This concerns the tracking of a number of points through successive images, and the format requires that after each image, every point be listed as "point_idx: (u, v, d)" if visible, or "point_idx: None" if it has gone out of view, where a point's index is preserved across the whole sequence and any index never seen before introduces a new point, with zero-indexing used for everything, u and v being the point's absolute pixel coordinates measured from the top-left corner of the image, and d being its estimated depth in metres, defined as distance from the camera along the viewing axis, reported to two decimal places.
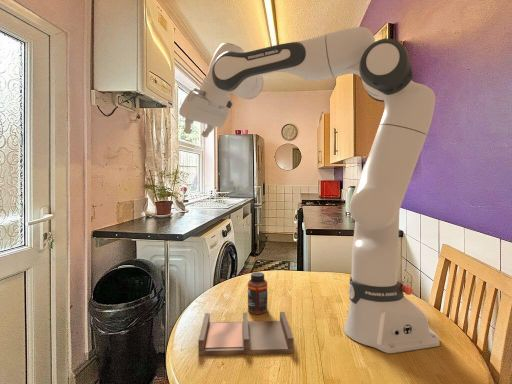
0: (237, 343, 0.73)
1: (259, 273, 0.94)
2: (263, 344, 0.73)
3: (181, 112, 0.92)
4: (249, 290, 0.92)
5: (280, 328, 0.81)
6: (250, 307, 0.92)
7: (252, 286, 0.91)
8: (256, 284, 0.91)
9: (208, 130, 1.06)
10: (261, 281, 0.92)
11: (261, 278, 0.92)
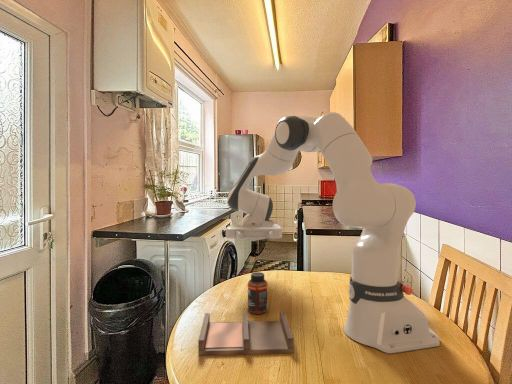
0: (237, 343, 0.73)
1: (259, 273, 0.94)
2: (263, 344, 0.73)
3: (226, 234, 1.10)
4: (249, 290, 0.92)
5: (280, 328, 0.81)
6: (250, 307, 0.92)
7: (252, 286, 0.91)
8: (256, 284, 0.91)
9: None
10: (261, 281, 0.92)
11: (261, 278, 0.92)
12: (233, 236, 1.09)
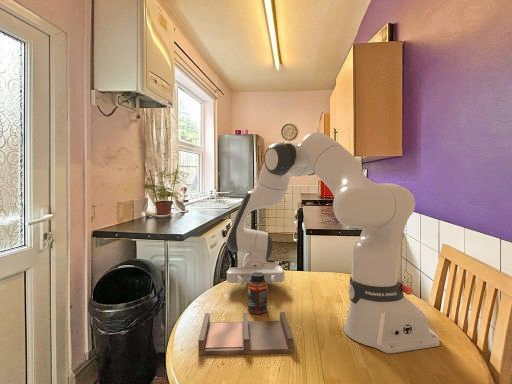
0: (237, 343, 0.73)
1: (259, 273, 0.94)
2: (263, 344, 0.73)
3: None
4: (249, 290, 0.92)
5: (280, 328, 0.81)
6: (250, 307, 0.92)
7: (252, 286, 0.91)
8: (256, 284, 0.91)
9: None
10: (261, 281, 0.92)
11: (261, 278, 0.92)
12: (234, 281, 1.06)
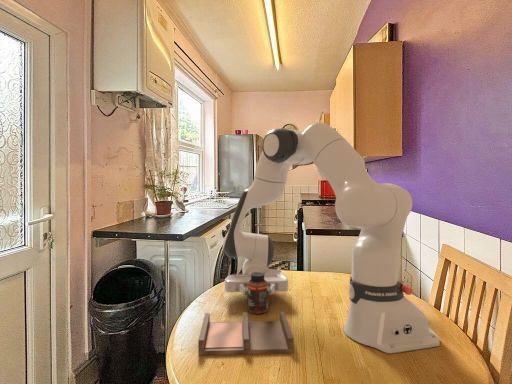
0: (237, 343, 0.73)
1: (259, 273, 0.94)
2: (263, 344, 0.73)
3: (225, 287, 0.98)
4: (249, 290, 0.92)
5: (280, 328, 0.81)
6: (250, 307, 0.92)
7: (252, 286, 0.91)
8: (256, 284, 0.91)
9: None
10: (261, 281, 0.92)
11: (261, 278, 0.92)
12: (233, 290, 0.97)
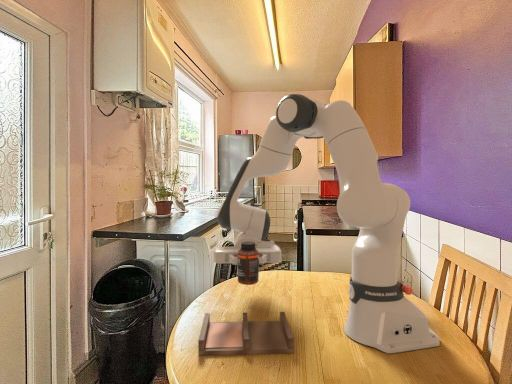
0: (237, 343, 0.73)
1: (250, 242, 0.88)
2: (263, 344, 0.73)
3: (214, 258, 0.92)
4: (239, 259, 0.86)
5: (280, 328, 0.81)
6: (240, 277, 0.86)
7: (241, 255, 0.85)
8: (246, 252, 0.85)
9: None
10: (252, 250, 0.86)
11: (252, 246, 0.86)
12: (222, 261, 0.91)
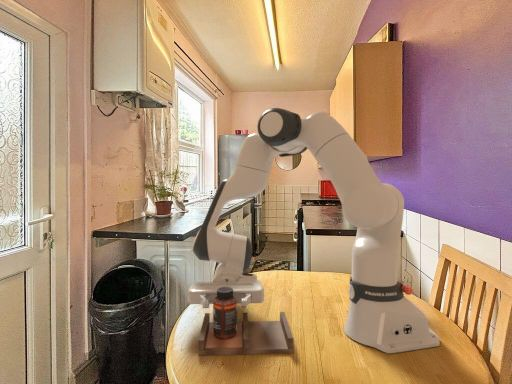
0: (237, 343, 0.73)
1: (227, 288, 0.77)
2: (263, 344, 0.73)
3: (187, 298, 0.81)
4: (214, 309, 0.75)
5: (280, 328, 0.81)
6: (215, 330, 0.75)
7: (217, 305, 0.75)
8: (222, 302, 0.74)
9: None
10: (229, 298, 0.75)
11: (229, 295, 0.75)
12: (197, 301, 0.80)
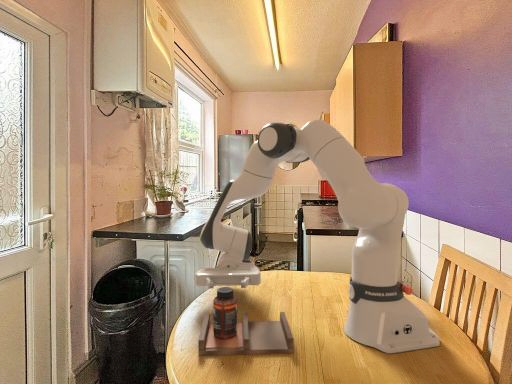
0: (237, 343, 0.73)
1: (227, 288, 0.77)
2: (263, 344, 0.73)
3: None
4: (214, 309, 0.75)
5: (280, 328, 0.81)
6: (215, 330, 0.75)
7: (217, 305, 0.75)
8: (222, 302, 0.74)
9: None
10: (229, 298, 0.75)
11: (229, 295, 0.75)
12: (203, 283, 0.93)
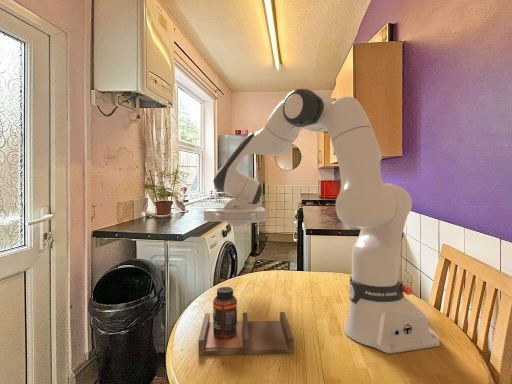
0: (237, 343, 0.73)
1: (227, 288, 0.77)
2: (263, 344, 0.73)
3: None
4: (214, 309, 0.75)
5: (280, 328, 0.81)
6: (215, 330, 0.75)
7: (217, 305, 0.75)
8: (222, 302, 0.74)
9: None
10: (229, 298, 0.75)
11: (229, 295, 0.75)
12: (211, 219, 0.98)
